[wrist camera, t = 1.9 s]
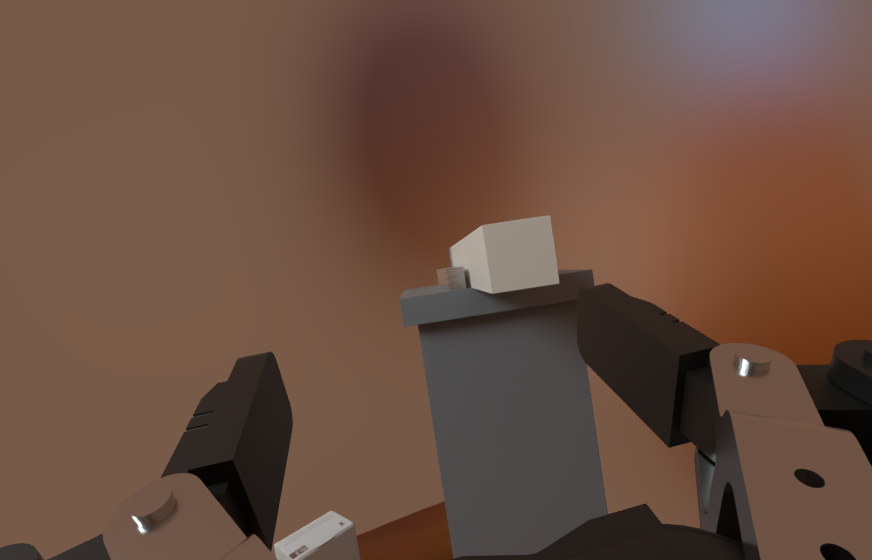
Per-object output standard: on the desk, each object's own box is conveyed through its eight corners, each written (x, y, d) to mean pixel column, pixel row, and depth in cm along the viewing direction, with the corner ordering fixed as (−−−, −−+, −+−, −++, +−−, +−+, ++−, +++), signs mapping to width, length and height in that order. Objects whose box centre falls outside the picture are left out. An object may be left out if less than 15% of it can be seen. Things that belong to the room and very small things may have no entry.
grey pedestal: (459, 743, 30) (388, 277, 29) (445, 586, 45) (397, 275, 44) (662, 702, 31) (598, 245, 30) (581, 561, 46) (537, 254, 45)
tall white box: (492, 293, 22) (482, 225, 22) (454, 282, 44) (449, 248, 44) (559, 283, 22) (549, 215, 22) (488, 277, 44) (483, 243, 44)
